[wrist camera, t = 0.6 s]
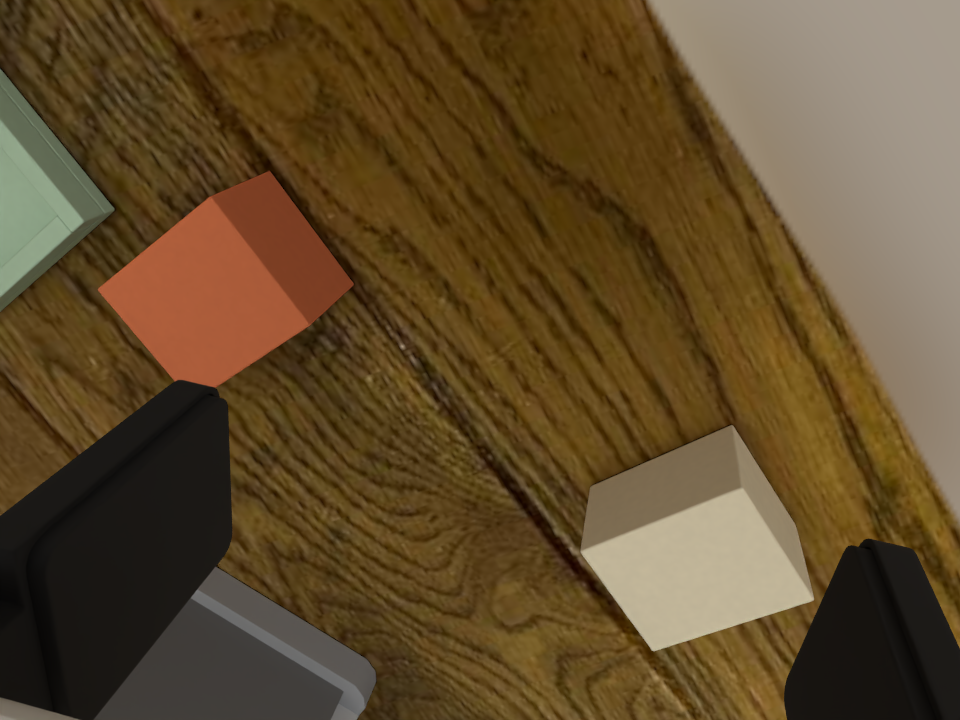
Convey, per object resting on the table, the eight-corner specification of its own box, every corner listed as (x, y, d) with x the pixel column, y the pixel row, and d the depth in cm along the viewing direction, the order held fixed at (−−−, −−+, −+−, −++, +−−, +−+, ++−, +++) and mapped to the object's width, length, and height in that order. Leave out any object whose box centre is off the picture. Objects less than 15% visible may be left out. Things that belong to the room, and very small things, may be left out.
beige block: (732, 423, 27) (742, 487, 23) (796, 525, 28) (815, 601, 25) (589, 485, 29) (579, 552, 26) (654, 577, 31) (652, 652, 27)
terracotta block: (270, 170, 27) (210, 196, 23) (355, 284, 28) (310, 325, 24) (165, 254, 29) (96, 289, 26) (247, 356, 30) (192, 402, 27)
